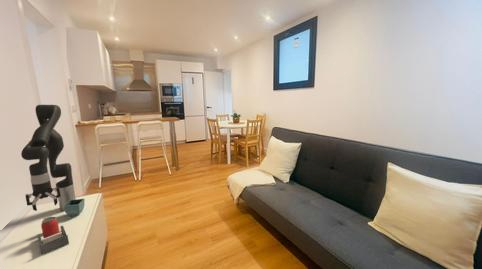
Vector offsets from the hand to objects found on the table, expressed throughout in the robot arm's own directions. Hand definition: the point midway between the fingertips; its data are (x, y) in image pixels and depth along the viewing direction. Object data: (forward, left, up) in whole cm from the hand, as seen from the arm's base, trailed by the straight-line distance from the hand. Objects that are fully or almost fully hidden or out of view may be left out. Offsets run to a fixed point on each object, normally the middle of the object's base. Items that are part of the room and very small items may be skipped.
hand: (45, 207), depth 115 cm
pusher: (+14, 0, -16) cm, 21 cm away
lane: (+14, 0, -16) cm, 21 cm away
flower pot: (-12, +14, -16) cm, 24 cm away
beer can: (+10, 0, -16) cm, 19 cm away
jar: (0, 0, -16) cm, 16 cm away
